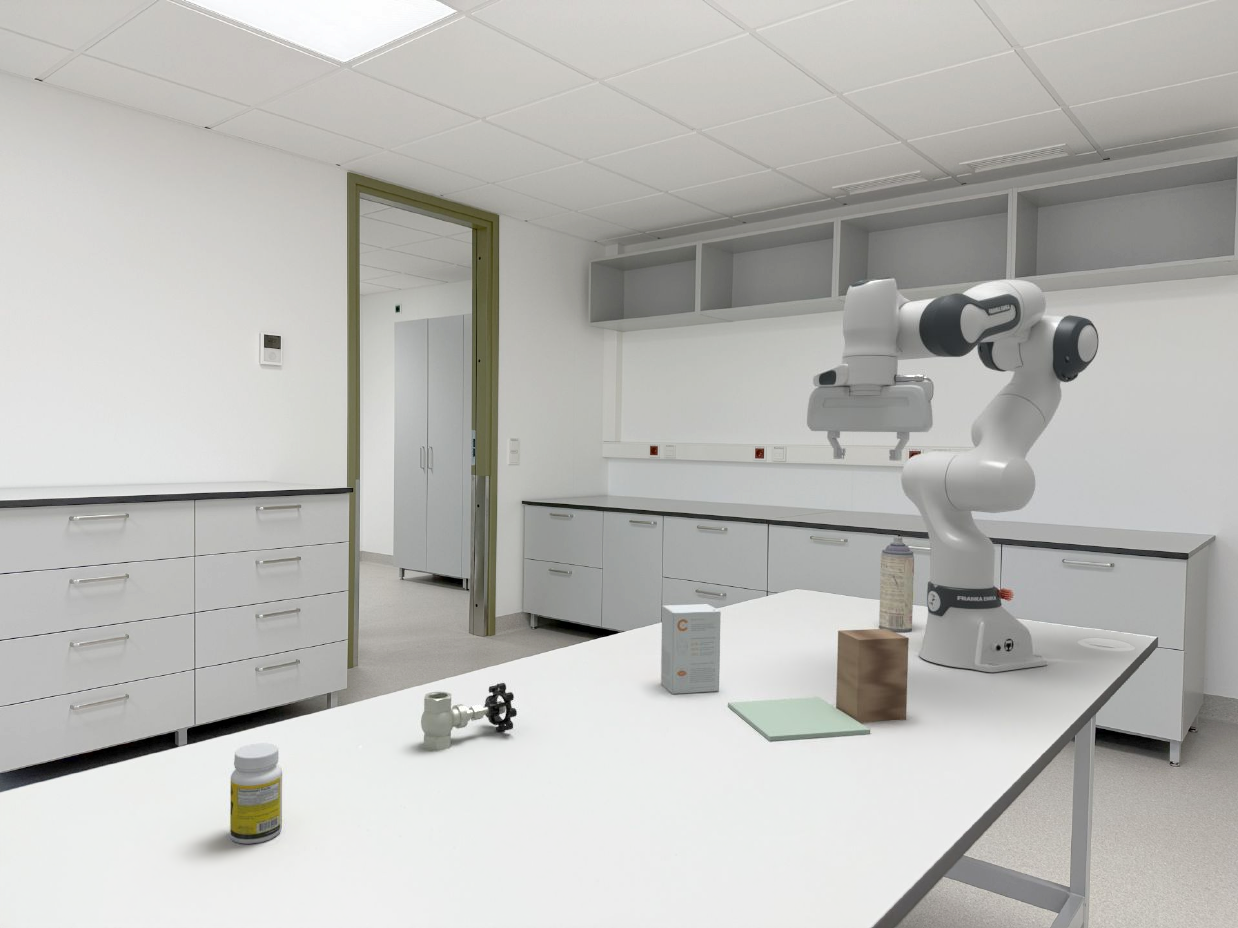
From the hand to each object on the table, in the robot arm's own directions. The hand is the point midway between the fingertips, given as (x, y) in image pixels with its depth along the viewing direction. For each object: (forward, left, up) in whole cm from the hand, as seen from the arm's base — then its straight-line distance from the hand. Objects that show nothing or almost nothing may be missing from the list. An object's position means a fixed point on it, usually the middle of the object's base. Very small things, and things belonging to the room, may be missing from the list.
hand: (866, 459), depth 140 cm
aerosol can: (-30, -37, -38) cm, 61 cm away
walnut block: (+7, +15, -37) cm, 41 cm away
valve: (+66, +14, -38) cm, 77 cm away
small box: (+29, -3, -38) cm, 48 cm away
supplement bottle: (+88, +37, -38) cm, 102 cm away
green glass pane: (+19, +15, -37) cm, 44 cm away
